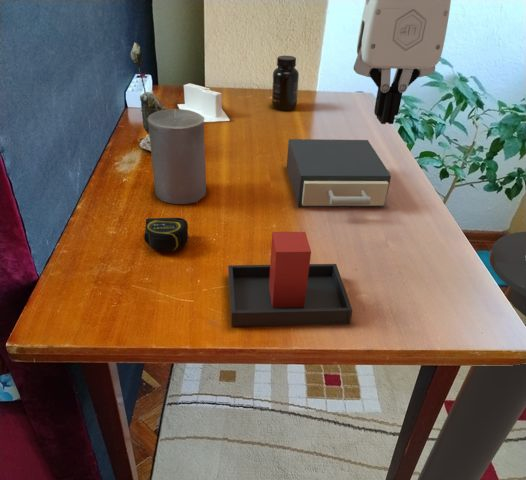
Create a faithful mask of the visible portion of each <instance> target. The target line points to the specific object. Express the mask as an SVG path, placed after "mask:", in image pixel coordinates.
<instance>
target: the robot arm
mask: <svg viewBox="0 0 526 480" xmlns="http://www.w3.org/2000/svg"><path fill="white" fill-rule="evenodd" d="M451 3H452V0H365V2H364V7H363V12H362V15H361V16H362V17H361V21H360V26H359V31H358V36H357V45H356V54H357V56H356V59H355V61H354V64H353V71H354V72H355V73H356V74H357V75H360V76H363V77H367V78H371V80H372V82H373V83H374V84H375V86H376V87H377V92H376V98H375V103H374V104H375V105H374V109H373V110H374V111H373V113H374V115H375V116H376V119H377V120H378V121H379V123H380V124H381V125H386V124H389V125H393V124H394V122H395V119H396V118H395V117H396V116H398V115H399V112H400V107H401V102H402V97H403V94H404V93H405V92H406V91H407V89H408V87H409V86H411V85H412V84H413V83H414V82H415V81H416V80H417V79H418V78H422V77H427V76H430V75H432V74H434V73H435V72H436V65H438V63H439V62H440V59H441V57H442V54H443V50H444V46H445V42H446V41H445V40H446V36H447V29H448V23H449V18H450V17H449V16H450V10H451ZM392 69H393V70H394V69H396V70H395V73H394V77H393V80H392V83H391V75H392V74H391V72H392ZM525 257H526V256H525Z"/></svg>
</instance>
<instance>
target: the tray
mask: <svg viewBox="0 0 526 480" xmlns="http://www.w3.org/2000/svg"><path fill="white" fill-rule="evenodd" d="M227 268H228V269H227V272H228V275H227V276H228V277H227V278H228V279H227V280H228V294H229V295H228V296H229V309H230V323H231V324H230V325H231V328H234V327H235V328H237V327H239V328H241V327H272V326H273V327H276V326H279V327H280V326H316V325H317V326H319V325H349V324H351V319H352V315H353V311H354V310H353V307H352V305H351V302H350V299H349V296H348V294H347V290H346V288H345V285H344V282H343V280H342V276H341V274H340V270H339V268H338V265H337V263H310V265H309V273H308V281H307V289H306V297H305V305H304V307H287V308H272V302H271V296H270V290H269V277H270V264H233V265H232V264H229V265H228V267H227Z"/></svg>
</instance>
